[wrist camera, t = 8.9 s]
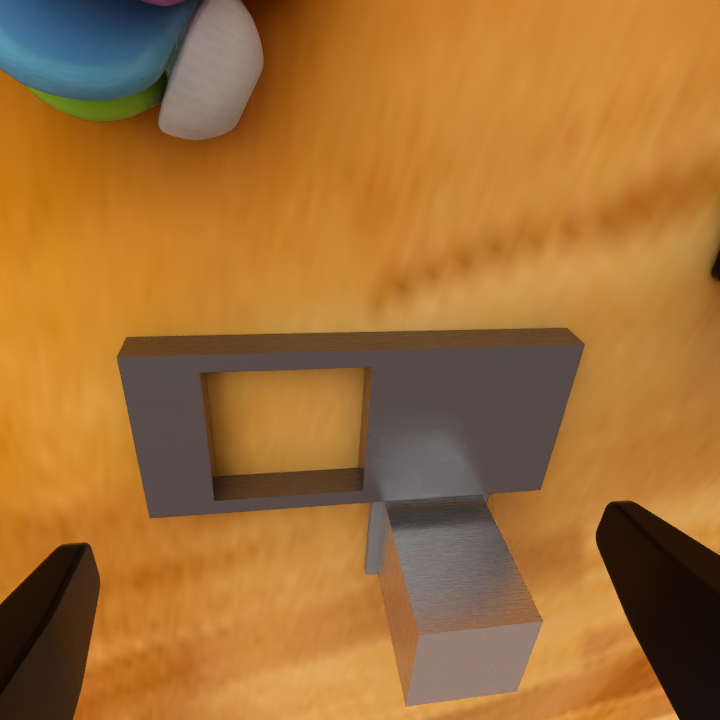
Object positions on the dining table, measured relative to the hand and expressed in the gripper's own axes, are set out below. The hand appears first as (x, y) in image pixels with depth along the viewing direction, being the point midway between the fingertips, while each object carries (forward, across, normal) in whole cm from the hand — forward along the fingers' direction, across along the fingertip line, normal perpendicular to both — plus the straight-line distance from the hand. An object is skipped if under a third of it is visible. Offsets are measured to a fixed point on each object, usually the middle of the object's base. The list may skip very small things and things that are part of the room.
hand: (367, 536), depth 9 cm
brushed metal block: (+12, -6, +14) cm, 19 cm away
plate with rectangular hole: (+12, -2, +6) cm, 14 cm away
